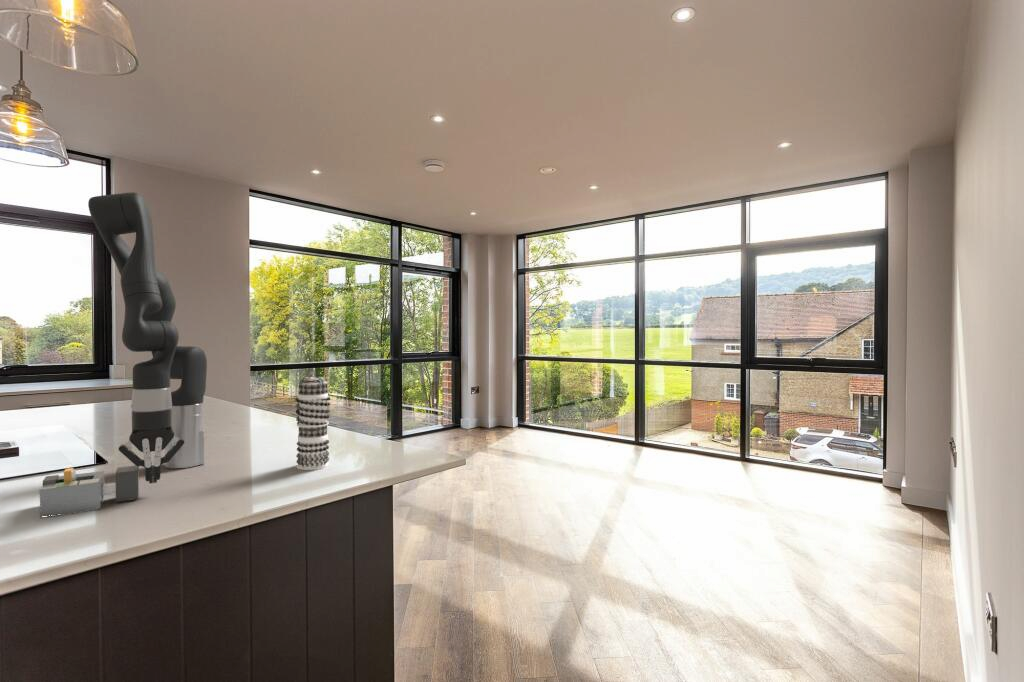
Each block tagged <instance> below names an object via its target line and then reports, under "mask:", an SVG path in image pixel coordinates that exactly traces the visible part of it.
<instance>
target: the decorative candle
mask: <svg viewBox="0 0 1024 682" xmlns="http://www.w3.org/2000/svg"><path fill="white" fill-rule="evenodd" d="M328 384H329V382H328V381H326V379H325V378H324V377H323V376H306V377H302V378H301V379H300V380H299V382H297V385H298V394H297V397H295V398H294V401H296V404H295V409H296V411H295V414H296V415H297V416H296V418H295V420H296V426H297V427H298V435H297V442H296V446H297V447H296V451H297V452H298V453H297V454H296V458H297V459H296V463H297V465H296V468H297V470H302V471H315V470H320V469H325V468H328V466H329V464H330V463H329V460H330V457H329V456H330V452H329V448H330V446H329V444H330V440H329V438H328V436H329V435H328V425H329V424H330V423H329V421H328V419H329V418H331V417H330V415H329V413H330V411H331V410H329V409H328V408H327V407H329V406H331V402H329V401H330V400H331V397H329V395H328ZM327 401H328V402H327Z"/></svg>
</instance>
